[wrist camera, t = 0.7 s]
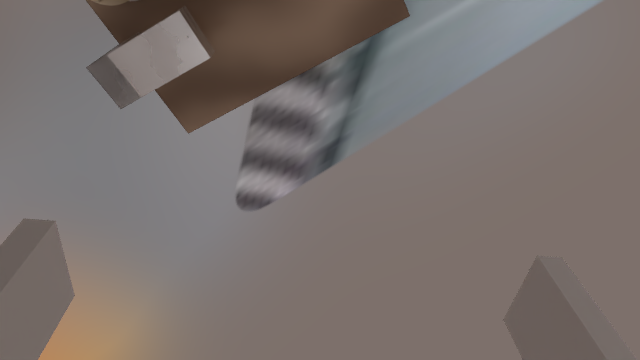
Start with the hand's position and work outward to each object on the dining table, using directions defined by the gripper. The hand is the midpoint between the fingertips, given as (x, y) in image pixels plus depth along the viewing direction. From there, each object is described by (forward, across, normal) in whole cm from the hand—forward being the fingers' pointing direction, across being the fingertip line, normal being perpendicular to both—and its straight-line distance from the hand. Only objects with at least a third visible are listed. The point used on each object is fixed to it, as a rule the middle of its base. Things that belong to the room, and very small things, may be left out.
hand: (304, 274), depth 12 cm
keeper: (+23, -11, +2) cm, 25 cm away
